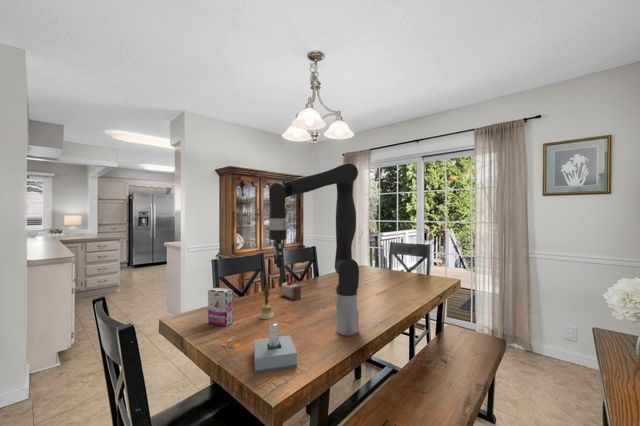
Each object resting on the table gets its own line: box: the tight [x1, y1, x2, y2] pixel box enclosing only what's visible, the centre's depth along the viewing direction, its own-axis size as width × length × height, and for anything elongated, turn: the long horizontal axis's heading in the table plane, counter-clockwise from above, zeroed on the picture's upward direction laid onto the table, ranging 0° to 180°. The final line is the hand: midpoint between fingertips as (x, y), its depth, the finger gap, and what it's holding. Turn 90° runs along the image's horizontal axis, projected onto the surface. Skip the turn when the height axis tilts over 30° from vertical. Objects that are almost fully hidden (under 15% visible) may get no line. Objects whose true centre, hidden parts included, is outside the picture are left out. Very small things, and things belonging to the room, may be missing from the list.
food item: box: [281, 280, 302, 301], centre depth 175 cm, size 14×8×10 cm, turn 44°
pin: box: [268, 321, 280, 350], centre depth 101 cm, size 4×4×12 cm
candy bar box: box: [207, 287, 234, 327], centre depth 134 cm, size 11×5×16 cm, turn 68°
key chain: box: [218, 336, 241, 353], centre depth 113 cm, size 13×7×1 cm, turn 35°
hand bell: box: [257, 285, 276, 320], centre depth 143 cm, size 8×8×16 cm
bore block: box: [253, 335, 298, 374], centre depth 101 cm, size 14×14×5 cm
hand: (277, 265), depth 122 cm, fingers open, 8 cm apart
